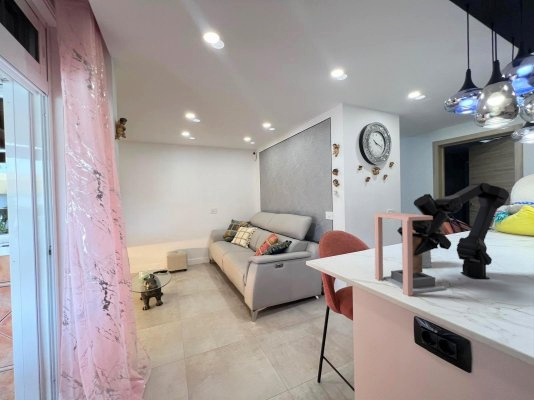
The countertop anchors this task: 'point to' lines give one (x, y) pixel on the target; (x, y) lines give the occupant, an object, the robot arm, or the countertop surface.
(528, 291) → the countertop surface
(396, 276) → the socket
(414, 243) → the walnut peg
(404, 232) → the pink arch frame
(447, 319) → the countertop surface
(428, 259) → the skincare box
